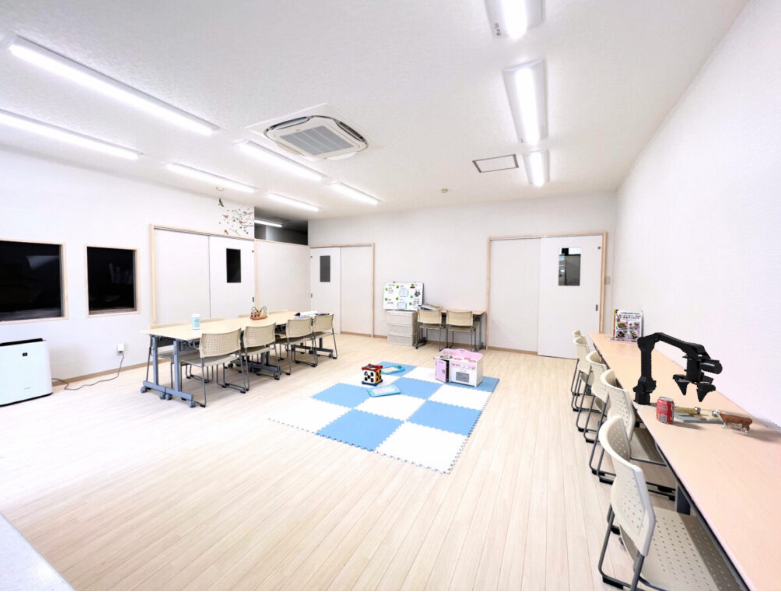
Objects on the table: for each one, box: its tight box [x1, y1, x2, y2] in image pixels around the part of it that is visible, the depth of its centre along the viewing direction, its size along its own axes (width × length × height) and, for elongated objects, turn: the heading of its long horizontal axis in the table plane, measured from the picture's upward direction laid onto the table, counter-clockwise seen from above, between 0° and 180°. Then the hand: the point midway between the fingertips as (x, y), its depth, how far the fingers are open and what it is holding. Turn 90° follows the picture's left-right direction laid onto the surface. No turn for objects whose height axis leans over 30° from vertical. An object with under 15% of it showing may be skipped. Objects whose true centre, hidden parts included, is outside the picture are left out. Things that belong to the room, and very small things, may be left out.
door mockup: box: [674, 409, 732, 425], centre depth 172 cm, size 23×12×4 cm, turn 87°
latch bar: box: [674, 406, 702, 414], centre depth 172 cm, size 12×2×3 cm, turn 87°
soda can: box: [655, 396, 676, 424], centre depth 167 cm, size 7×7×12 cm
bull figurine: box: [713, 409, 753, 434], centre depth 160 cm, size 4×13×8 cm, turn 44°
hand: (692, 398), depth 166 cm, fingers open, 9 cm apart
